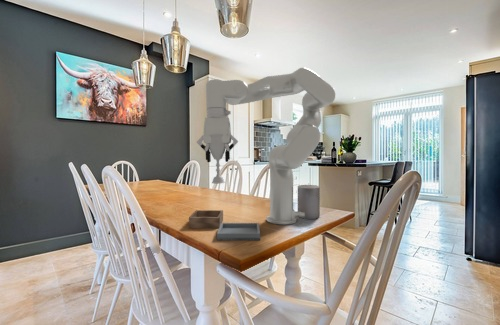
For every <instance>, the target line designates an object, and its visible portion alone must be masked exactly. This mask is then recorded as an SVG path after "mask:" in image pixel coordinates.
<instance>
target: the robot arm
mask: <svg viewBox="0 0 500 325" xmlns="http://www.w3.org/2000/svg"><path fill="white" fill-rule="evenodd" d="M304 91H305V93H304V95H303V96H302V100H301V106H302V111H303V113H302V116H301V117H300V118H299V120H298V121H297V122H296V123H295V125H294V126H293V127H292V128H291V129H290V131H289V132H288V133H287V135H286V138H285V139H286V140H285V141H286V144H281V145H276V146H274V147H272V148H271V150H270V151H269V153H268V165H269V174H270V182H269V183H270V185H269V188H270V190H269V192H270V193H269V194H270V195H269V196H270V197H269V200H270V203H269V208H270V210H269V212H270V213H269V215H267V216H266V221H267V222H268V223H269V224H274V225H292V224H296V223H297V221H298V218H300V217H305V213H304V212H300V211H298V210H296V211H295V210H294V174H293V170H295V169H298V168H300V167H301V166H302V165H304V163H305V162H306V160H308V158H309V157H310V156H311V155H312V153H313V152H315V150H316V148H317V147H318V145H319V143H320V141H321V132H320V130H319V127H320V126H321V124H322V123H321V122H322V114H321V110H320V109H322V108H326V107H328V106H331V105H332V104H333V102H334V101H335V99H336V91H335V89H334V88H333V87H332V85H331V84H330V83H329V82H327V81H326V80H325V79H323V78H322V77H321V76H320V75H319V74H318V73H316V72H315V71H313V70H311V69H310V68H307V67H299V68H298V69H296V70H294V71H293V72H291V73H283V74H277V75H269V76H265V77H263V78H260V79H259V80H257V81H254V82H252V83H248V84H247V83H246V82H245V81H243V80H241V79H229V80H221V79H215V78H214V79H210V80H208V81H206V83H205V98H206V102H205V103H206V104H205V105H206V117H204V123H203V134H202V135H201V137H200V138H198V139H197V141H196V144H197V145H198V146H200V147H201V149H202V150H203V151H204V152H205V160H206V162H207V163H210V162H211V161H212V159H211V158H212V157H211V156H212V154H211V152H210V149H209V146H210V143H211V137H210V136H209V135H223V136H222V142H223V144H224V145H225V148H226V149H225V152H224V156H225V157H224V158H225V159H224V160H225V163H228V162H229V160H230V159H231V155H230V154H231V150H232V149H233V148H234V147H235V146H236V145H238V142H239V141H238V139H237V138H235V136H234V135H232V132H231V131H232V130H231V122H230V118H229V117H228V116H229V115H231V110H228V108H227V106H228V105H230V106H236V105H243V104H244V105H245V104H250V103H255V102H259V101H264V100H270V99H272V98H281V97H287V96H293V95H297V94H300V93H302V92H304ZM227 104H228V105H227ZM205 144H206V145H205ZM229 144H230V145H229Z"/></svg>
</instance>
